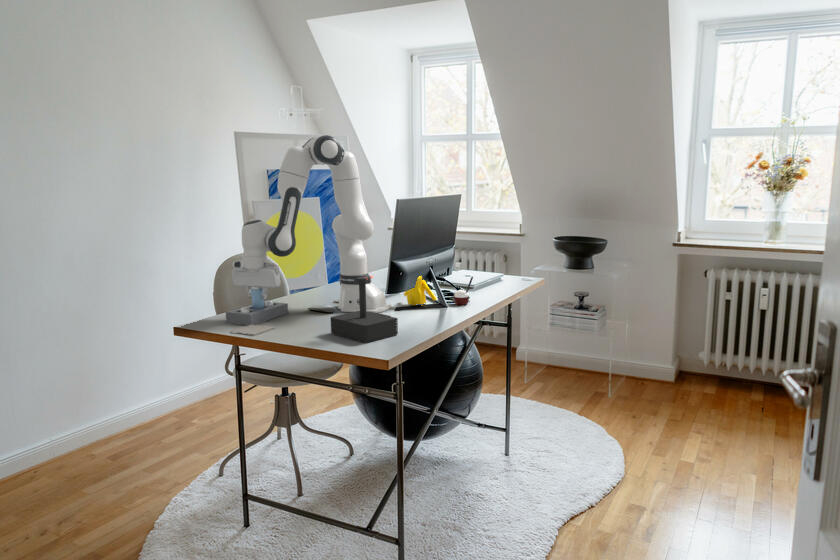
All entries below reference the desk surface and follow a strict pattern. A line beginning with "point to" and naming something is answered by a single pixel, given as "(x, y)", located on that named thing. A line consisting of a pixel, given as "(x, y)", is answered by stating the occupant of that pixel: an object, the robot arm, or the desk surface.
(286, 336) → the desk surface
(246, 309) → the plunger
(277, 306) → the housing
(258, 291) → the cartridge
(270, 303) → the plunger
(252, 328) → the mat
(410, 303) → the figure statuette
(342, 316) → the black post stand
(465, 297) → the cocoa
